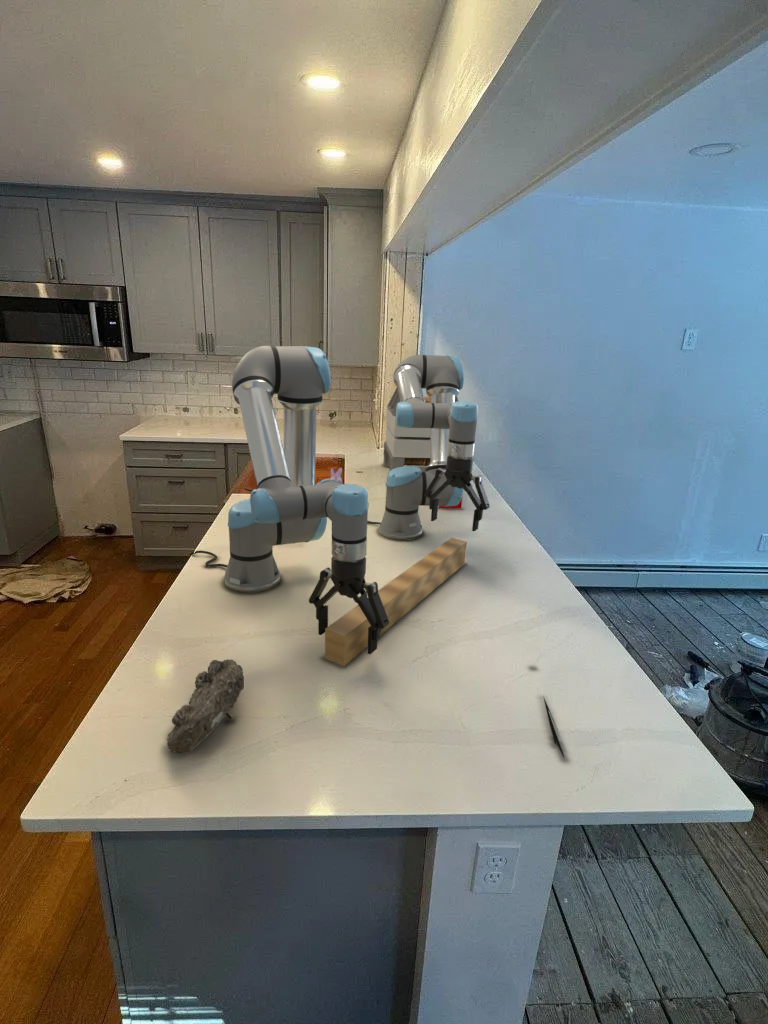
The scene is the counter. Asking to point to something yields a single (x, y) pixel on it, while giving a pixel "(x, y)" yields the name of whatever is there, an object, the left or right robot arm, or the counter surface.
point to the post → (394, 600)
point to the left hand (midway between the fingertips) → (347, 641)
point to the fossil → (206, 705)
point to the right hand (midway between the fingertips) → (454, 524)
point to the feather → (553, 727)
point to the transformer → (405, 440)
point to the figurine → (336, 475)
